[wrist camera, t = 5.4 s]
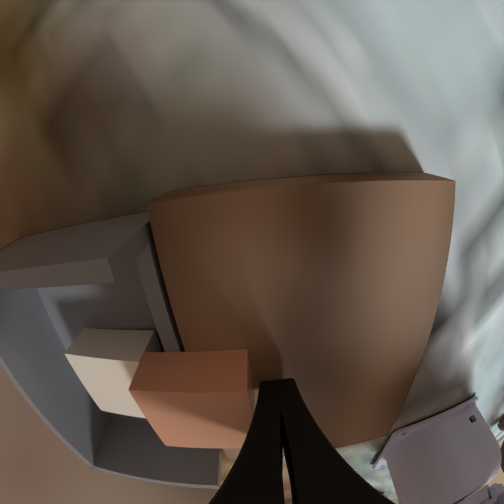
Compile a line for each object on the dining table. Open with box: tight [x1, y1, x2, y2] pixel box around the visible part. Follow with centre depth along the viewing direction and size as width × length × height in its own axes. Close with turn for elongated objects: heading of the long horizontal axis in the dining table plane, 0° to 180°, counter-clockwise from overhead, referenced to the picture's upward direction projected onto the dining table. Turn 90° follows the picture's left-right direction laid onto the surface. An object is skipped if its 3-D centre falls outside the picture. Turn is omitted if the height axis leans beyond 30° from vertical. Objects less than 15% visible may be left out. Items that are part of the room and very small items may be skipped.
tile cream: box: [64, 328, 162, 418], centre depth 11 cm, size 4×4×2 cm
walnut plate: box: [147, 172, 455, 460], centre depth 11 cm, size 10×15×2 cm, turn 6°
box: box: [0, 212, 222, 489], centre depth 10 cm, size 8×13×4 cm, turn 6°
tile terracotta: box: [128, 349, 256, 448], centre depth 9 cm, size 4×4×2 cm
